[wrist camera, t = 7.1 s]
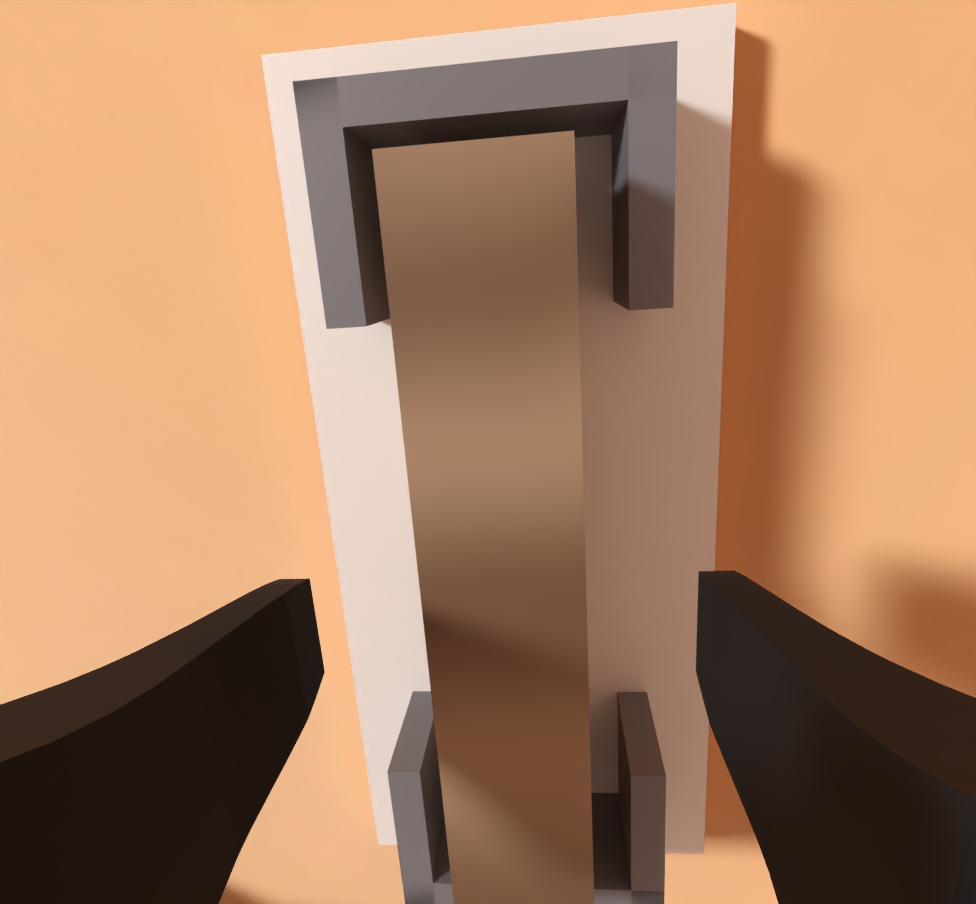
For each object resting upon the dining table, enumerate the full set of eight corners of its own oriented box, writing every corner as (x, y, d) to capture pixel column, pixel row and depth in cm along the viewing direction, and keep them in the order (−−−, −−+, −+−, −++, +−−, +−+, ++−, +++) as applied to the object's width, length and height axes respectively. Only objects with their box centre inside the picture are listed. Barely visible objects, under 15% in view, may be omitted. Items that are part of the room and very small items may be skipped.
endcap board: (696, 825, 20) (731, 960, 16) (386, 817, 21) (349, 941, 17) (723, 20, 14) (791, -75, 10) (280, 68, 15) (185, 0, 11)
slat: (582, 769, 18) (595, 947, 14) (480, 767, 19) (458, 940, 14) (565, 176, 14) (573, 130, 9) (431, 187, 14) (371, 148, 9)
